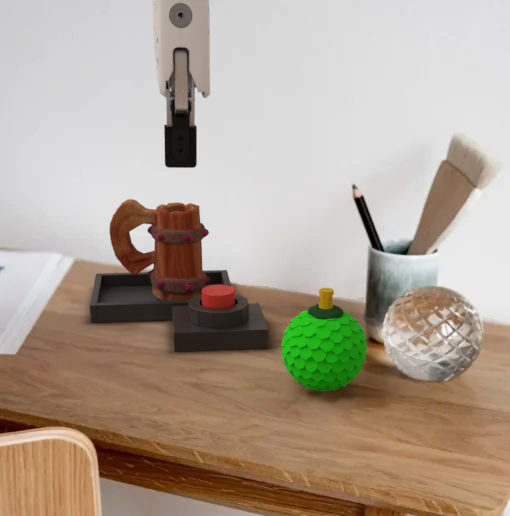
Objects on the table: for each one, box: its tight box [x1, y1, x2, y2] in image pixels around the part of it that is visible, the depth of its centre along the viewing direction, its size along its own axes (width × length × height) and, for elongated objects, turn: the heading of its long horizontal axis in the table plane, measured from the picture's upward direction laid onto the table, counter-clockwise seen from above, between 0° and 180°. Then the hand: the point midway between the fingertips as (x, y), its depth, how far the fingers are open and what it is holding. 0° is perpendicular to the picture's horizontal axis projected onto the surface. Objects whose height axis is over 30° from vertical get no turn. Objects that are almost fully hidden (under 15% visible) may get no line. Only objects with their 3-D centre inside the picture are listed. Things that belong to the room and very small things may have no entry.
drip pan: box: [89, 269, 232, 323], centre depth 102 cm, size 17×12×2 cm
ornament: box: [280, 287, 368, 392], centre depth 79 cm, size 8×8×10 cm
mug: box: [109, 198, 210, 301], centre depth 100 cm, size 12×6×12 cm, turn 86°
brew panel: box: [172, 293, 269, 353], centre depth 92 cm, size 10×8×4 cm
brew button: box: [202, 285, 236, 309], centre depth 91 cm, size 4×4×2 cm
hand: (180, 165), depth 86 cm, fingers closed
